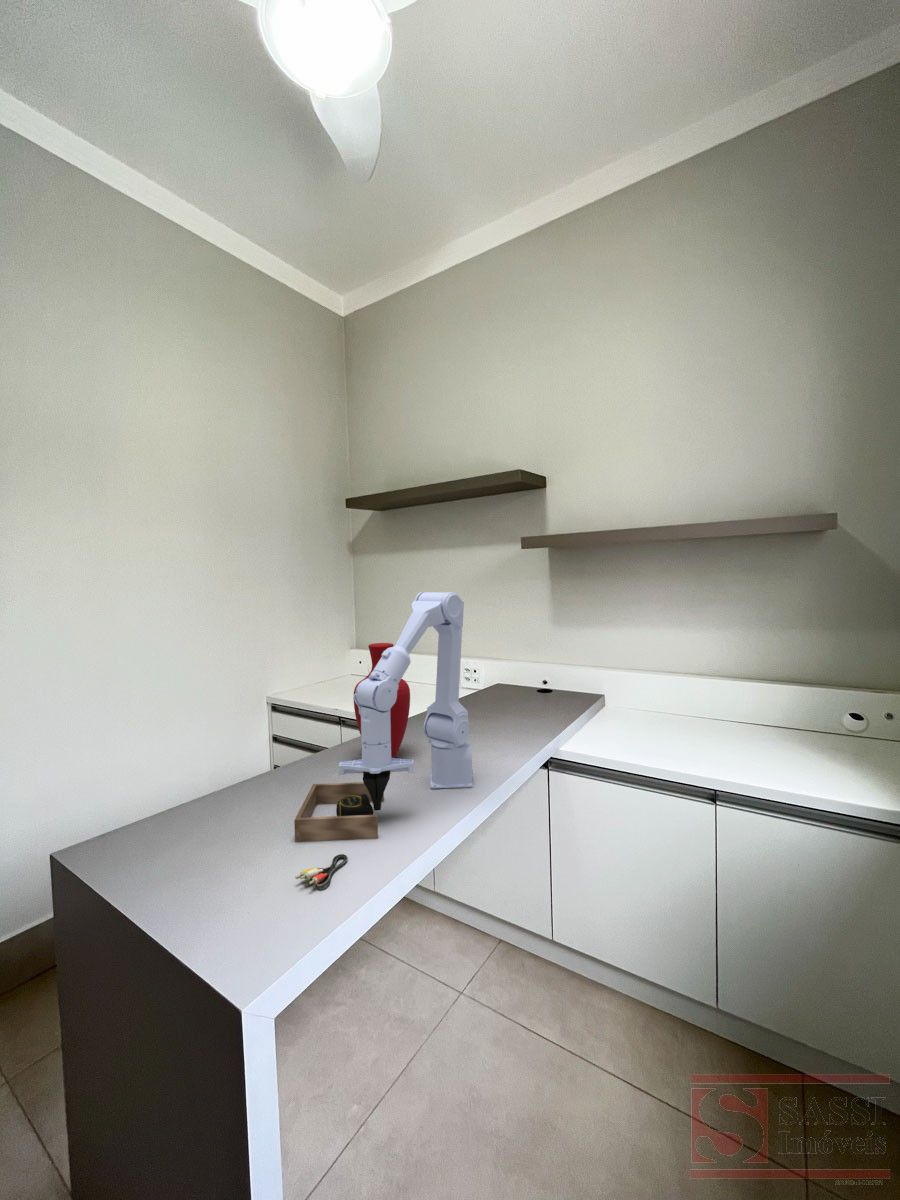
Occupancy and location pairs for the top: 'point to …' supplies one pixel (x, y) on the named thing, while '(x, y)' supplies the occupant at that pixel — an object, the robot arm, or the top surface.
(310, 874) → the composite cable
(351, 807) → the tape measure
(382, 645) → the vase
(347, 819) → the u-shaped wooden frame
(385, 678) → the robot arm
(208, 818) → the top surface
